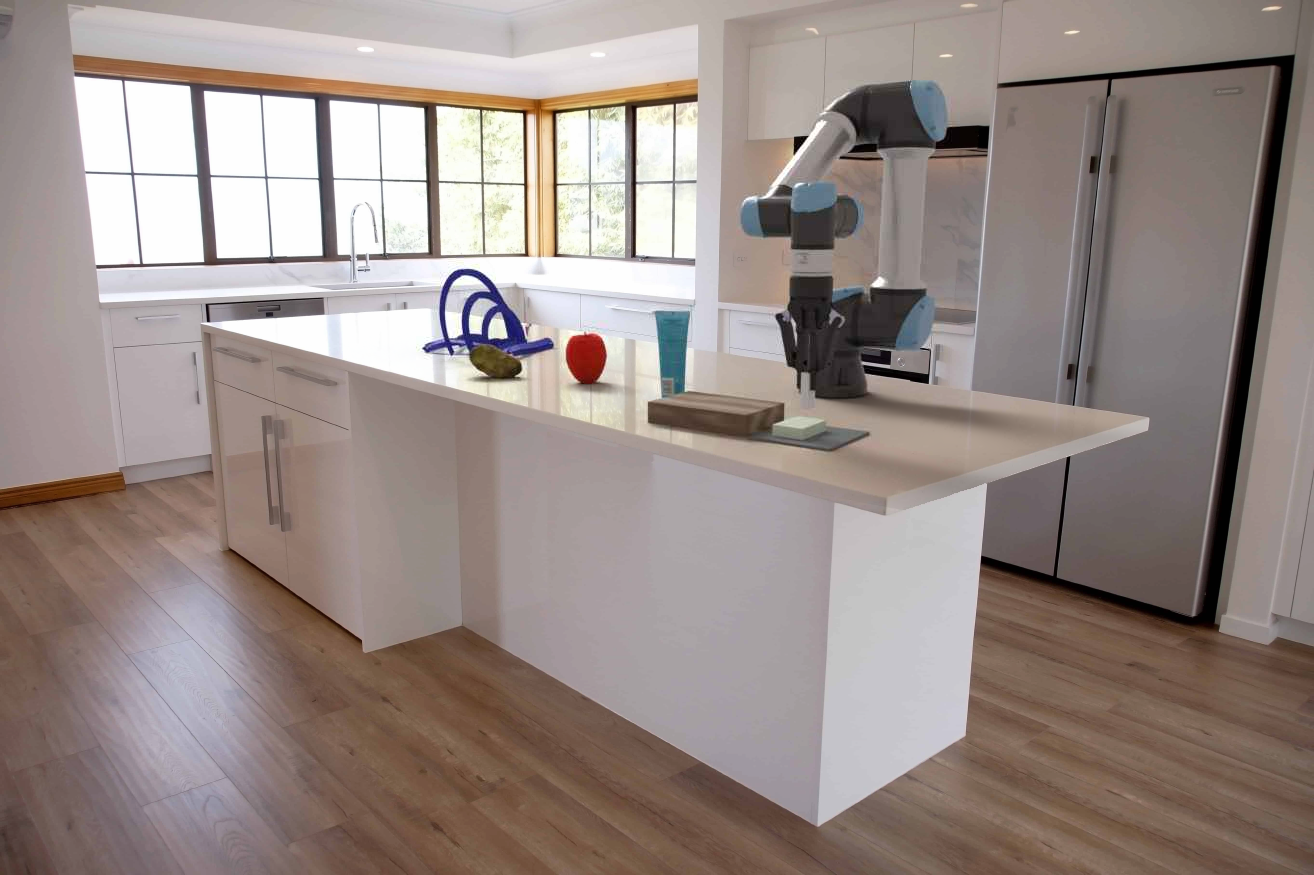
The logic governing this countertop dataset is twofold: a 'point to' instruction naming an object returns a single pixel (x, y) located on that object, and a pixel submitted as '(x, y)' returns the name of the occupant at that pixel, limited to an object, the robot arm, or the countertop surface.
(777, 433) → the pale green block
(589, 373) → the apple
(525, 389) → the countertop surface
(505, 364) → the potato
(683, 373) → the tube
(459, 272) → the sculpture
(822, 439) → the mat
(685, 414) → the board
